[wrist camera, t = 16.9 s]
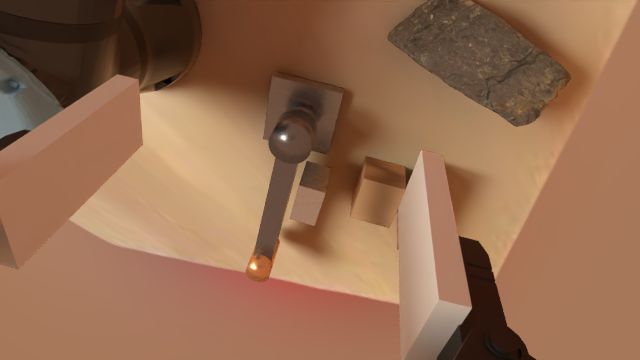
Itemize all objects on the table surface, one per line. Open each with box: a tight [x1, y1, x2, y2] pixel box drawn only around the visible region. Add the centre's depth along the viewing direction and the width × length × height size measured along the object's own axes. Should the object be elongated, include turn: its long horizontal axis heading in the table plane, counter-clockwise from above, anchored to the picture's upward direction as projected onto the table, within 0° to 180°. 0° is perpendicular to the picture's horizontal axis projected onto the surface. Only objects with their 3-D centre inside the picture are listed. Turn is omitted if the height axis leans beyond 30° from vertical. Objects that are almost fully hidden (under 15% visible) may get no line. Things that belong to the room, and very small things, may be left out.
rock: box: [388, 0, 571, 127], centre depth 39 cm, size 17×7×10 cm
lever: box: [246, 109, 331, 282], centre depth 49 cm, size 7×23×6 cm, turn 165°
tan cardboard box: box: [350, 156, 406, 228], centre depth 50 cm, size 5×6×5 cm
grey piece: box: [263, 71, 399, 250], centre depth 48 cm, size 21×16×6 cm
